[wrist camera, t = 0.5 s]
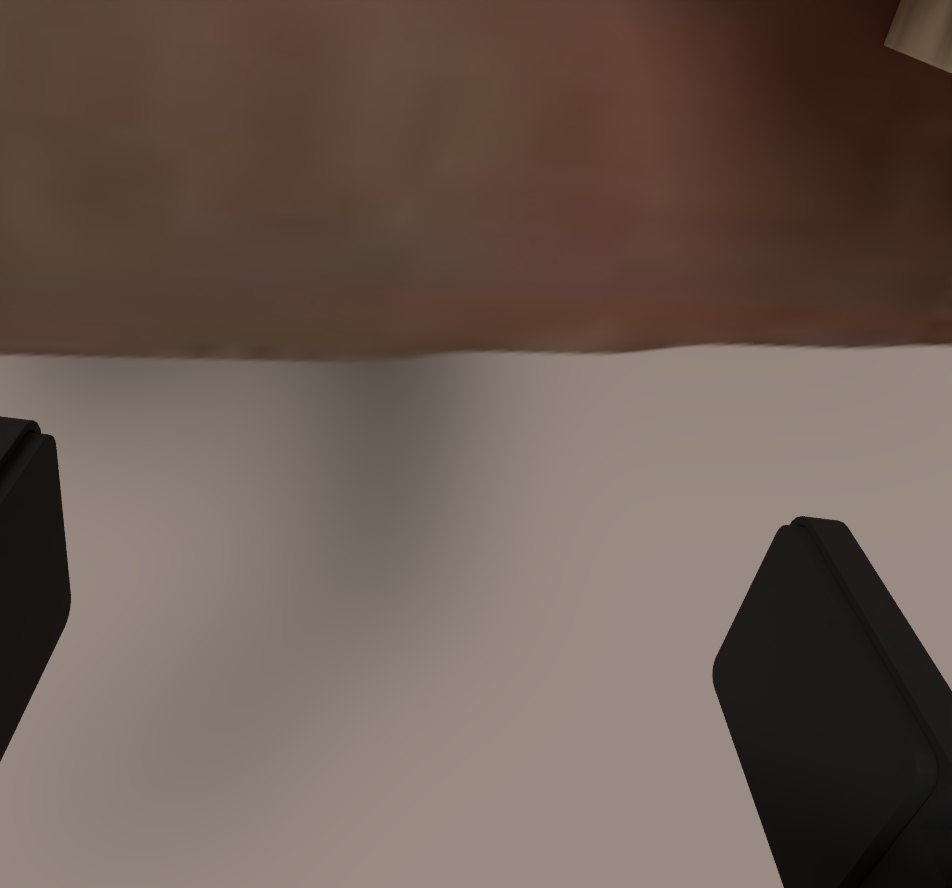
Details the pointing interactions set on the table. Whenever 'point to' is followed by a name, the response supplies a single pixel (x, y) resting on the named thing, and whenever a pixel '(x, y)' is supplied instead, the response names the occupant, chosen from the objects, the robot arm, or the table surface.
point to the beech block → (923, 31)
